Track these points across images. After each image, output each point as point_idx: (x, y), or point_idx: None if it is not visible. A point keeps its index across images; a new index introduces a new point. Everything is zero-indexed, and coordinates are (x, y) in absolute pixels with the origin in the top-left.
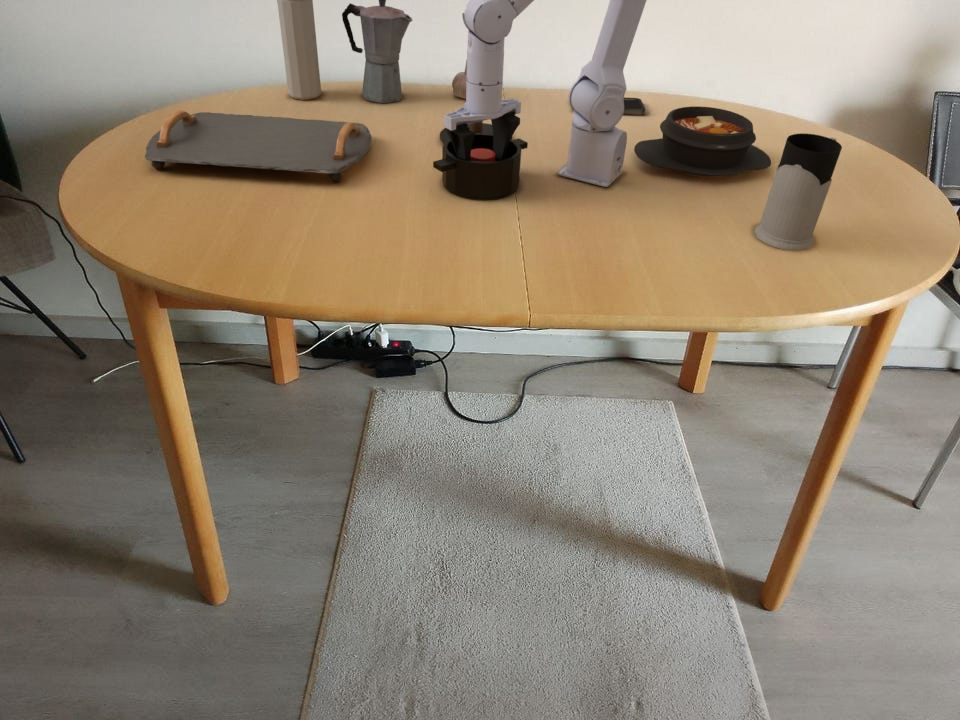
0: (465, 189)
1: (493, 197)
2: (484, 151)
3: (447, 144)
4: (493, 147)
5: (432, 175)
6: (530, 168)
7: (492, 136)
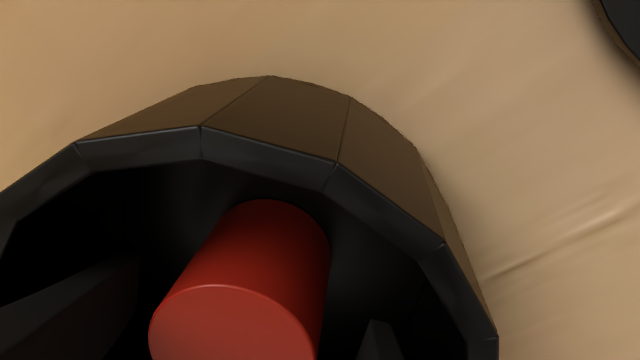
0: None
1: None
2: (267, 353)
3: (57, 193)
4: (375, 351)
5: (172, 12)
6: (565, 322)
7: (464, 337)
